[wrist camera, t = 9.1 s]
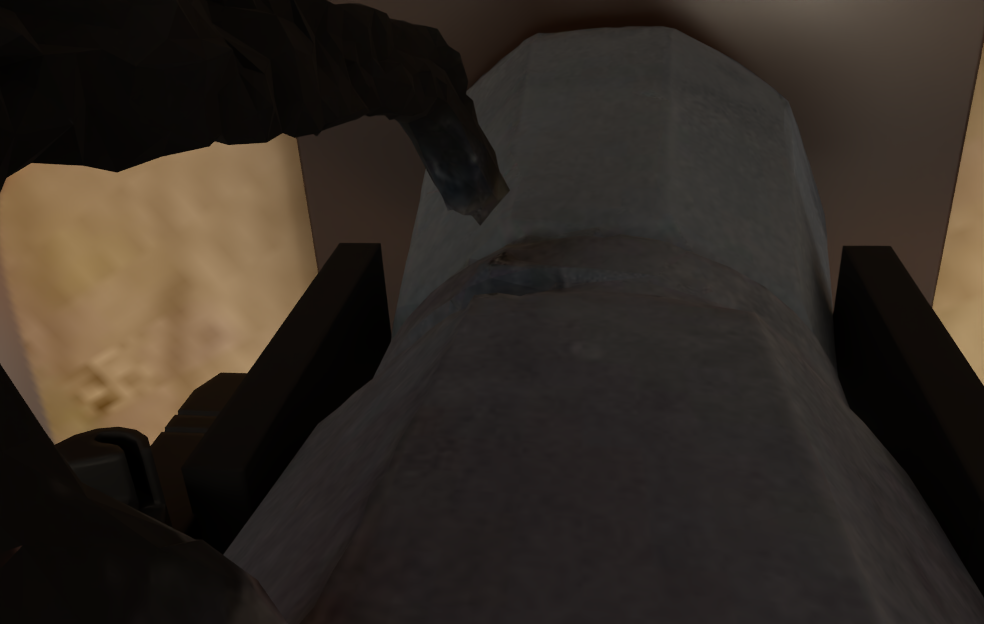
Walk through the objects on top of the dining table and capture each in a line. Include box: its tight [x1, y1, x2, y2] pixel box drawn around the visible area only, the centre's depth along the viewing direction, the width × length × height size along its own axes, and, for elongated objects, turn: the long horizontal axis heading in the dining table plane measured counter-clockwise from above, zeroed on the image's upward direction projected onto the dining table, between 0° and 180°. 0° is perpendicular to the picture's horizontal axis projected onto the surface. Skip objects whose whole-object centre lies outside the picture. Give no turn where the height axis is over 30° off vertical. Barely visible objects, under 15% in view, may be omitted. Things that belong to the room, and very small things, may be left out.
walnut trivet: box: [296, 0, 984, 336], centre depth 24 cm, size 20×16×1 cm
